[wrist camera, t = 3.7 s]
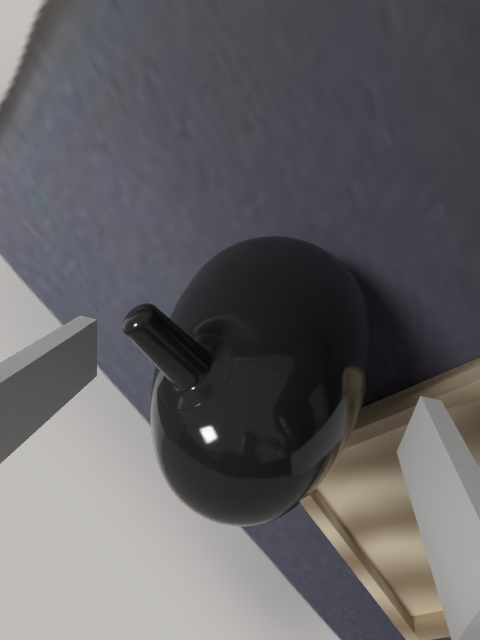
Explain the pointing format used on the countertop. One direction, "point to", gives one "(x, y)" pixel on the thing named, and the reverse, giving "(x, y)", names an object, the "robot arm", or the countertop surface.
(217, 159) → the countertop surface
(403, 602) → the birch tray
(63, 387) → the robot arm
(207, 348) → the pump dispenser
